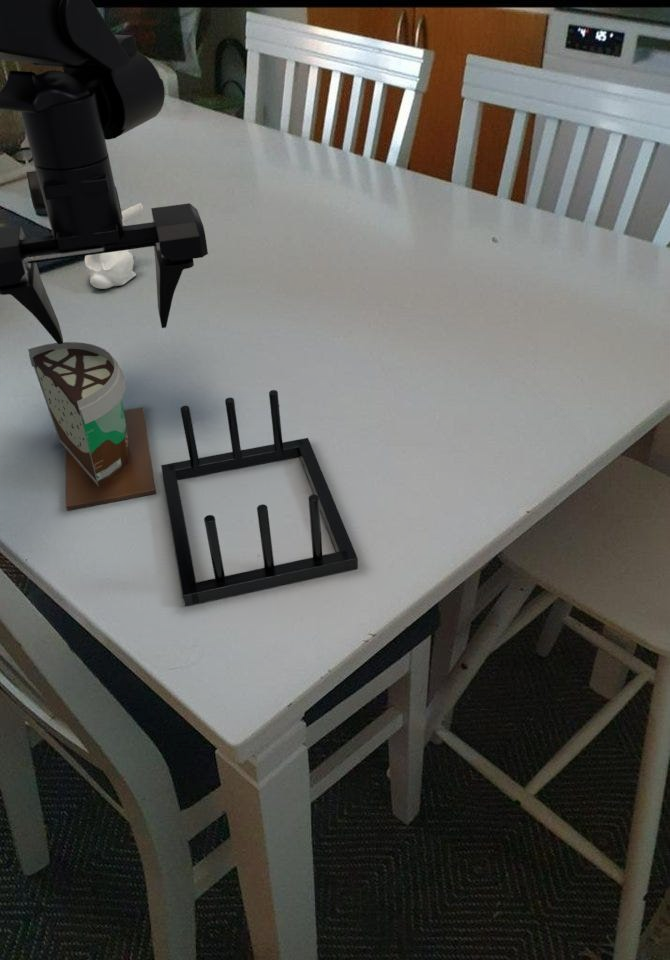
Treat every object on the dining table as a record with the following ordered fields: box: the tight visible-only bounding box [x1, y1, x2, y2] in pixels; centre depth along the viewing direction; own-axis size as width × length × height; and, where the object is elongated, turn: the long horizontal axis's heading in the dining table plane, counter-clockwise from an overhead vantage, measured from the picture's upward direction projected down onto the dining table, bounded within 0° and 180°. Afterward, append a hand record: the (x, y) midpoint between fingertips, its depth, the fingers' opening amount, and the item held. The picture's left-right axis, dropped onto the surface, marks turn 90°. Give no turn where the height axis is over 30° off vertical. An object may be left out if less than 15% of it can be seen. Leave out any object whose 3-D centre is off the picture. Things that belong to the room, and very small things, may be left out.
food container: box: [27, 341, 130, 487], centre depth 76 cm, size 12×6×10 cm, turn 37°
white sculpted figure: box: [84, 202, 144, 290], centre depth 107 cm, size 12×8×10 cm, turn 167°
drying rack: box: [160, 389, 359, 607], centre depth 69 cm, size 14×17×8 cm
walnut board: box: [64, 407, 157, 511], centre depth 79 cm, size 8×14×1 cm, turn 15°
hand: (112, 333), depth 73 cm, fingers open, 9 cm apart
